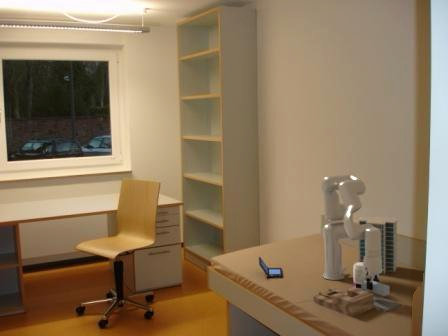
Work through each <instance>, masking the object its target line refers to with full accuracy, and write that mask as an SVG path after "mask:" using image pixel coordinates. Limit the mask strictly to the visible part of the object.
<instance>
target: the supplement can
mask: <svg viewBox="0 0 448 336" xmlns="http://www.w3.org/2000/svg"><path fill="white" fill-rule="evenodd" d="M352 269H353V271H352V274H353V276H352V278H353V287H354V288H357V289H360V290H363V291H366V292H369V293H370V291H367V290H364V289H363V282H364V281H366V280H365V279H364V278H363V262H359V261H357V262H356V261H355V263H354V264H353V267H352ZM369 279H370V277H369ZM353 287H352V288H353Z"/></svg>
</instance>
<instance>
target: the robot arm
mask: <svg viewBox="0 0 448 336" xmlns="http://www.w3.org/2000/svg"><path fill="white" fill-rule="evenodd" d="M321 190H322V191H321V192H322V194H323V203H324V204H323V205H324V218H325V219H326V221H330V222H329V223H326V224H324V226H323V227H322V236H323V243H324V272H323V273H322V278H323V277H324V278H323V279H324V280H325V279H326V280H329V281H341V280H343V279H345V276H346V275H345V274H344V272H345V271H347V270H348V269H347V267H346V266H345V267H343V265H342V264H343V263H342V262H343V260H342V259H343V257H342V256H343V255H342V245H341V243H340V242H339V241H338V240H342V239H350V240H351V241H359V240H362V239H365V256H364V260H363V278H364V279H365V280H366V281H367V289H369V290H373V282H372V281H375V282H379V283H380V279H381V276H382V274H381V273H382V260H381V231H380V229H378V228H375V227H374V226H373V225H371V224H362V225H359V224H355V225H354V215H353V214H355V213H357V212H358V211H359V210H361V208H362V207H363V203H362V201H361V199H360V197H359V196H361V195H364V194H365V193H366V190H367V189H366V185H365V182H364V181H363V180H362V179H360V178H359V177H356V176H355V175H353V174H350V173H348V174H347V173H346V174H332V175H327V176H325V177H323V178H322V180H321ZM338 192H339V193H338ZM339 194H340V195H339ZM340 197H341V199H342V202H340ZM334 221H335V222H334ZM337 221H338V222H337ZM369 277H370V279H369Z"/></svg>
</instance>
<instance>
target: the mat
mask: <svg viewBox="0 0 448 336" xmlns="http://www.w3.org/2000/svg"><path fill="white" fill-rule="evenodd" d="M401 305H402V303H400V302H397V301H393V300H391V299H387V298H385V297H381V296H378V295H375V294H374V308H376V309H378V310H381V309H382V311H384V310H385V311H384V312H387V311H388V312H391V311H392V310H394V309H396V308H399V307H400V306H401Z"/></svg>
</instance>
